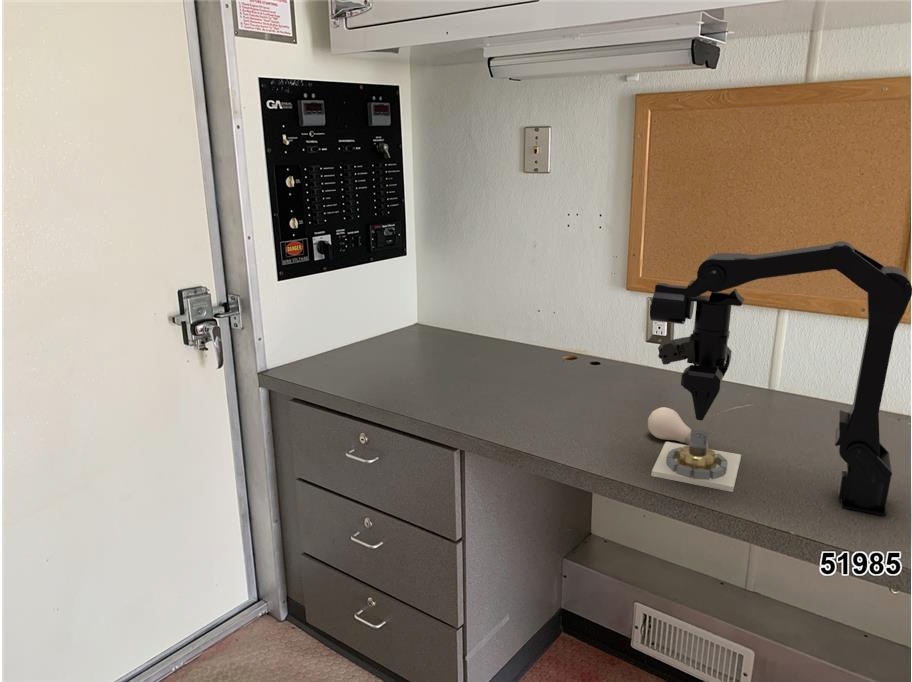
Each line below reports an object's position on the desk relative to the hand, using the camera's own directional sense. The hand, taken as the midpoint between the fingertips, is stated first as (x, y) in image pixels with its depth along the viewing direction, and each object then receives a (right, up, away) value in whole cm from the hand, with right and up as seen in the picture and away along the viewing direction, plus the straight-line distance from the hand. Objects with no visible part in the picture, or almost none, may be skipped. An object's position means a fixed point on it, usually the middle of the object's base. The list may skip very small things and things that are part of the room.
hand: (703, 410), depth 128 cm
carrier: (0, -11, +5) cm, 12 cm away
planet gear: (0, -10, +3) cm, 11 cm away
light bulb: (-1, -8, +16) cm, 18 cm away
